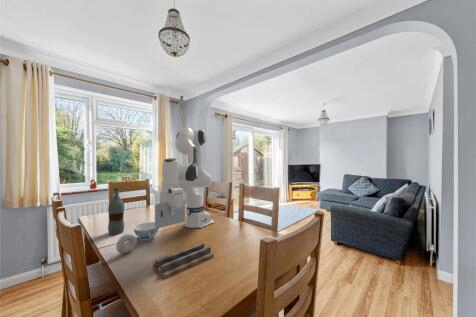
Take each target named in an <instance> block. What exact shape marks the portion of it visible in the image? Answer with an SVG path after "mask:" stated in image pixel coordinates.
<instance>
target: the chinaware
mask: <svg viewBox="0 0 476 317" xmlns="http://www.w3.org/2000/svg"><path fill="white" fill-rule="evenodd" d="M159 230H160V228H155V221H149V222H143V223H142V222H141V223H139V224H137V225H134V227H133V232H134V234H135V235H136V236H137V238H139V239H141V241H150V240H152V239H153V238H154V236H155V235H156V234H157V233H158V232H159Z"/></svg>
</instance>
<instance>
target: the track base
mask: <svg viewBox="0 0 476 317" xmlns="http://www.w3.org/2000/svg"><path fill="white" fill-rule="evenodd" d="M213 257H214V252H212V248H211V246H206V247H205V243H203V242H201V243H199V244H196V245H194V246H191V247H187V248H186V249H182V250H180V251H178V252H175V253H171V254H170V255H167V256H165V257H162V258H160V259H159V258H158V259H156V260H155V261H154V263H153V264H152V269H154V270H155V271H156V273H157V272H158V274H159V275H160V276H161V277H162V278H164V279H167V278H170V277H172V276H174V275H177V274H178V273H180V272H183V271H184V270H187V269H189V268H192V267H194V266H196V265H197V264H200V263H202V262H204V261H207V260H209V259H212V258H213Z"/></svg>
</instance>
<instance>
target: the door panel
mask: <svg viewBox="0 0 476 317" xmlns="http://www.w3.org/2000/svg"><path fill="white" fill-rule="evenodd" d="M170 211H171V207H170V206H169V205H168V203H167V202H165V203H155V204H154V222H155V228H159V229H160V228H165V227H168V226H173V225H176V224H179V223H185V222H186V200H185V199H183V207H182V208H179V209H175V211H174V215H171V214H170Z"/></svg>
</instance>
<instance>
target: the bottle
mask: <svg viewBox="0 0 476 317" xmlns="http://www.w3.org/2000/svg"><path fill="white" fill-rule="evenodd" d="M113 189H114V192H113V197H112V199H111V200H110V202H109V204H108V206H107V207H108V208H107V211H108V212H107V213H108V224H107V225H108V227H107V229H108V230H107V231H108V235H110V236H116V235H120V234H122V233H123V232H124V229H125V221H124V214H125V203H124V201H123V200H122V198H121V197H120V190H119V189H120V188H119V187H114V188H113Z"/></svg>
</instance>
